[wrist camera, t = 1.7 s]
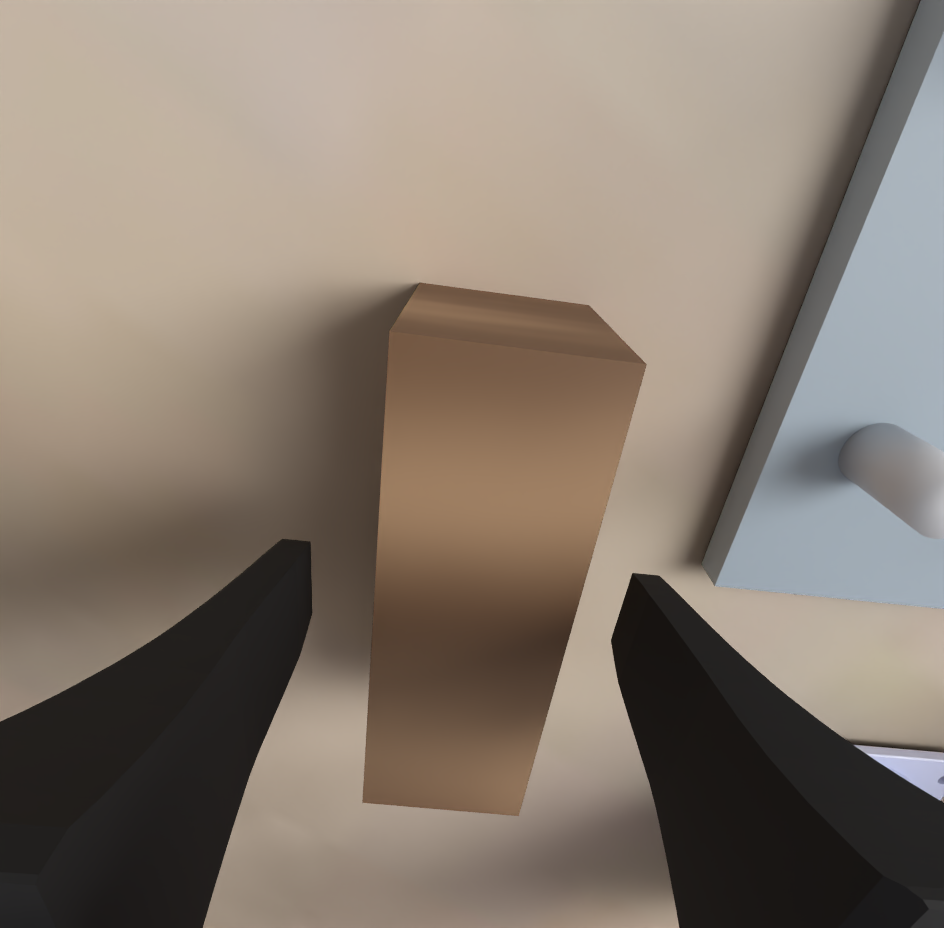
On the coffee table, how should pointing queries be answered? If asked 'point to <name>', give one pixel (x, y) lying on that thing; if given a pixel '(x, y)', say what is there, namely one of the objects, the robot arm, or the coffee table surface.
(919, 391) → the peg board
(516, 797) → the walnut bar
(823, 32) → the coffee table surface
